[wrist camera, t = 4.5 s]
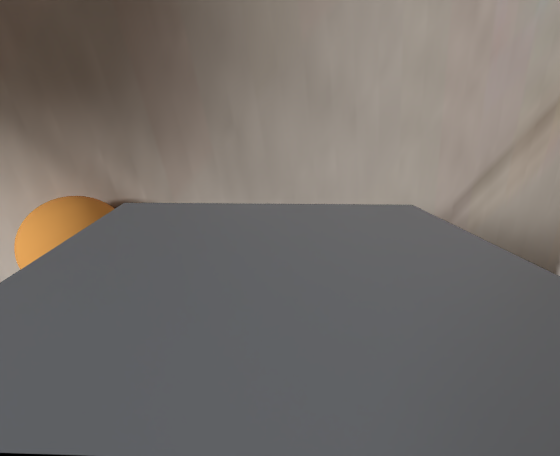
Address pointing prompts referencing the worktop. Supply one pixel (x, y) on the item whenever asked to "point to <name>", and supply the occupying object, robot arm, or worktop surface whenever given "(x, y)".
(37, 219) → the ball
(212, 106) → the worktop surface
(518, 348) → the plain gray cube
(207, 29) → the worktop surface
